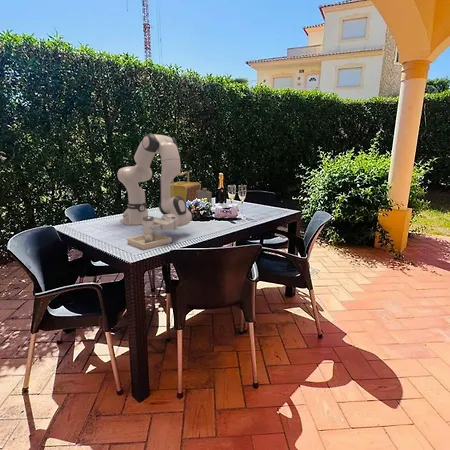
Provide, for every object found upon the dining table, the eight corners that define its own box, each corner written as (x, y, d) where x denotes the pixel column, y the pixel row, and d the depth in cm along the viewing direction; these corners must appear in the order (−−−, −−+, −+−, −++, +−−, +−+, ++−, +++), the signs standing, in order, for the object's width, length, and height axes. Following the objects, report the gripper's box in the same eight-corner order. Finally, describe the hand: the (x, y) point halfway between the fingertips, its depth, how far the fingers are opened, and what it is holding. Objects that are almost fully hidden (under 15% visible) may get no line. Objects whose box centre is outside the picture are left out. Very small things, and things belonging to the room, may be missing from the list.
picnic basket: (177, 202, 294) (176, 170, 287) (201, 204, 285) (201, 171, 278) (160, 208, 268) (158, 173, 260) (186, 210, 259) (185, 174, 251)
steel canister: (142, 242, 171) (140, 217, 168) (151, 240, 175) (149, 215, 172) (148, 244, 167) (146, 218, 164) (157, 241, 171) (155, 217, 168)
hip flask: (196, 211, 254) (196, 187, 249) (200, 211, 257) (199, 187, 252) (209, 214, 243) (209, 189, 238) (213, 214, 246) (213, 188, 241)
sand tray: (127, 243, 170) (127, 238, 169) (154, 237, 183) (154, 232, 182) (144, 250, 160) (143, 244, 159) (171, 242, 172) (171, 237, 172)
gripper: (156, 213, 184) (136, 217, 174) (178, 219, 171) (158, 223, 161) (157, 223, 186) (137, 228, 176) (179, 230, 172) (158, 235, 162)
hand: (147, 226), depth 168 cm, fingers open, 7 cm apart
